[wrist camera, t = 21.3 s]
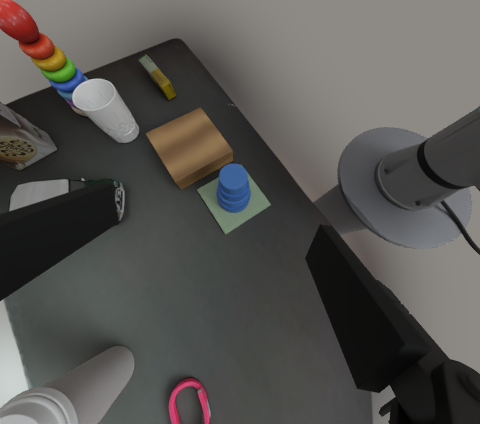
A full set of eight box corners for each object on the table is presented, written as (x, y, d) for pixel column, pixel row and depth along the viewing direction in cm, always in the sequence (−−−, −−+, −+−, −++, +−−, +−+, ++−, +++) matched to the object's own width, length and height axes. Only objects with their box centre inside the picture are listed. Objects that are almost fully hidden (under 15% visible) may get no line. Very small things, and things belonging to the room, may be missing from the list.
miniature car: (129, 223, 36) (100, 213, 28) (37, 235, 35) (-19, 228, 27) (130, 184, 38) (104, 166, 31) (44, 194, 37) (-6, 177, 29)
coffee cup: (90, 338, 30) (-41, 409, 16) (145, 332, 31) (67, 397, 16) (81, 406, 28) (-86, 566, 13) (141, 399, 28) (44, 545, 14)
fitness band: (215, 426, 28) (214, 436, 26) (181, 446, 27) (177, 457, 25) (199, 370, 29) (198, 376, 28) (166, 387, 29) (163, 394, 27)
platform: (233, 160, 41) (233, 150, 37) (181, 190, 38) (175, 182, 35) (203, 120, 44) (200, 106, 40) (153, 145, 41) (145, 133, 37)
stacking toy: (72, 118, 43) (-47, 14, 25) (79, 93, 45) (-25, -19, 27) (104, 118, 43) (10, 16, 25) (110, 94, 45) (28, -17, 27)
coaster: (270, 205, 38) (271, 204, 38) (225, 234, 36) (225, 234, 36) (241, 165, 41) (241, 164, 40) (197, 190, 39) (196, 189, 38)
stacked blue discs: (256, 201, 38) (263, 182, 28) (228, 219, 37) (226, 204, 27) (238, 177, 39) (239, 150, 30) (211, 192, 38) (203, 170, 28)
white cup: (105, 143, 41) (65, 108, 31) (114, 117, 43) (79, 76, 33) (137, 146, 41) (108, 112, 31) (145, 120, 43) (120, 80, 34)
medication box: (146, 74, 47) (137, 58, 44) (154, 69, 48) (146, 53, 44) (168, 101, 45) (160, 86, 41) (177, 95, 45) (170, 80, 41)
